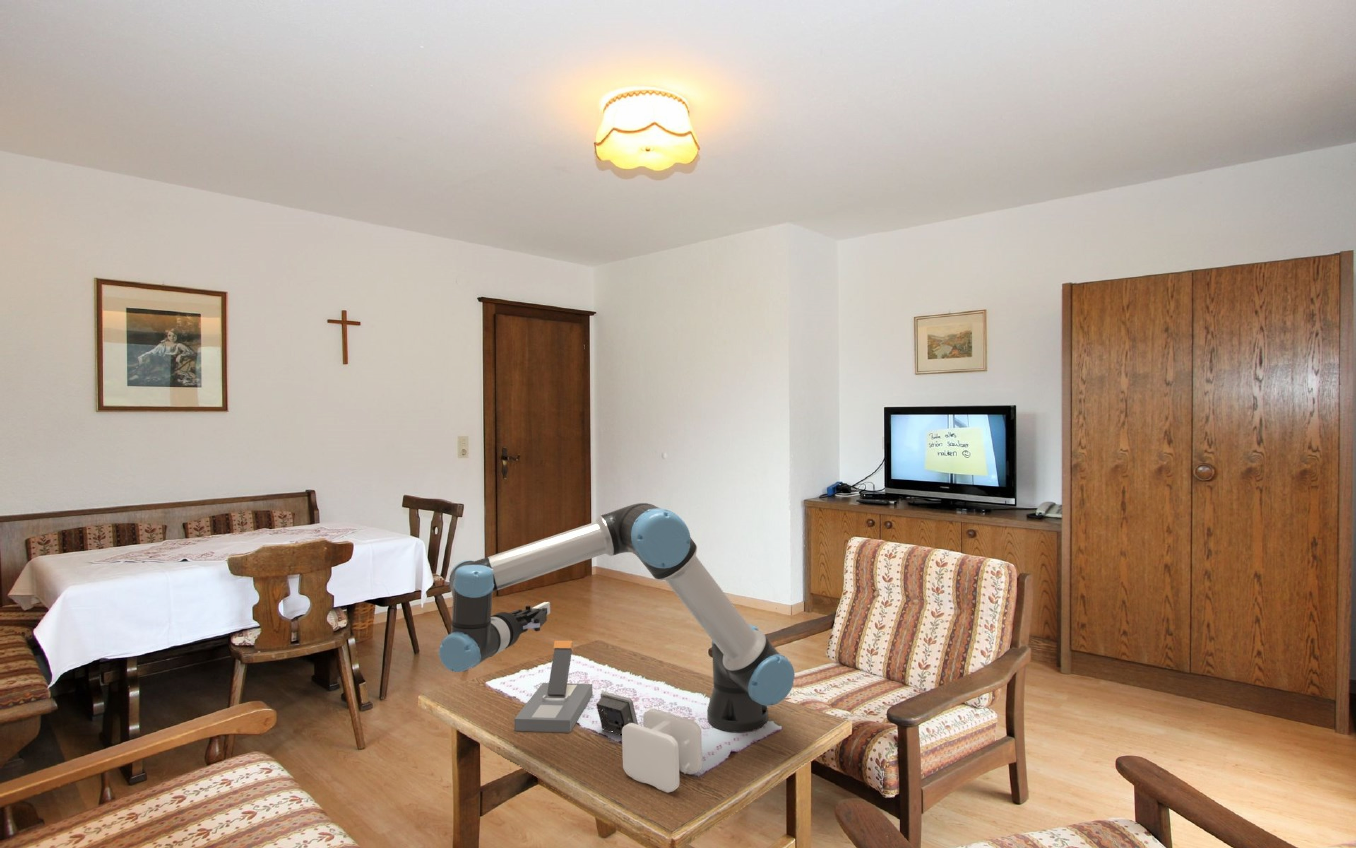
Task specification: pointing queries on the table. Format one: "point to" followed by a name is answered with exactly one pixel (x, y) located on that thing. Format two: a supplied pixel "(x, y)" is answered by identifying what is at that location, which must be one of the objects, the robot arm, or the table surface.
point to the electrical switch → (615, 712)
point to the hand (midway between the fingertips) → (547, 607)
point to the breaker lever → (560, 668)
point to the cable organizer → (661, 749)
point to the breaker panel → (553, 709)
